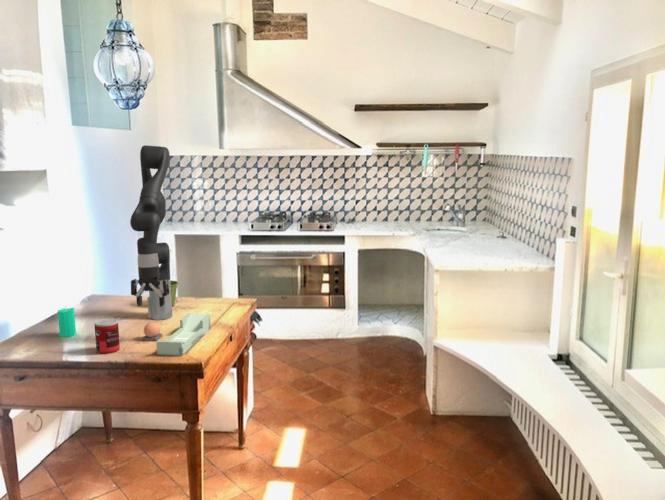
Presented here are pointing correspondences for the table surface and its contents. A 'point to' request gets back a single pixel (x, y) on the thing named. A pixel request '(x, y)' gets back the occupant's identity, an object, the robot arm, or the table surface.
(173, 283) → the plant pot
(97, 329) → the canned food
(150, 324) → the ball
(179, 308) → the table surface
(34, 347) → the table surface
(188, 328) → the lane
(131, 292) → the robot arm
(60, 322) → the candle
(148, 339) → the grey picture frame
